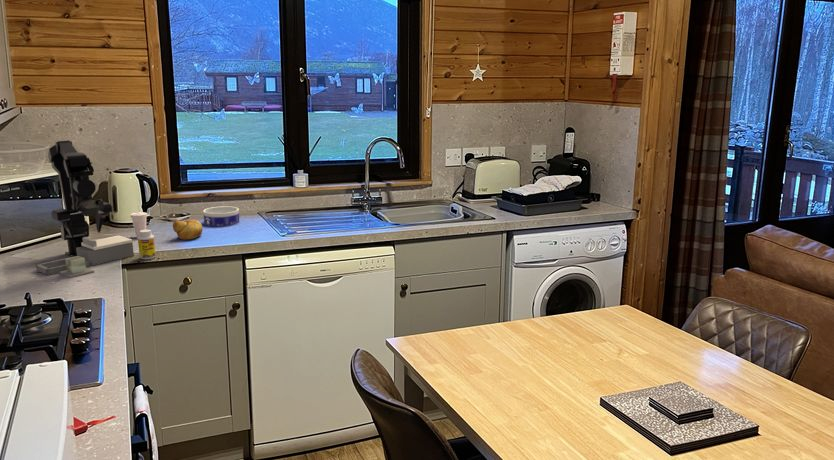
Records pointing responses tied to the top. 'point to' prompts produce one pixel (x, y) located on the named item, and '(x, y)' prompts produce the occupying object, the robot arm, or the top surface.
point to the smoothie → (139, 221)
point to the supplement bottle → (146, 245)
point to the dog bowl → (221, 216)
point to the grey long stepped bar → (89, 257)
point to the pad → (76, 273)
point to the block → (75, 264)
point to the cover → (105, 242)
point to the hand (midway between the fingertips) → (85, 235)
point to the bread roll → (187, 229)
